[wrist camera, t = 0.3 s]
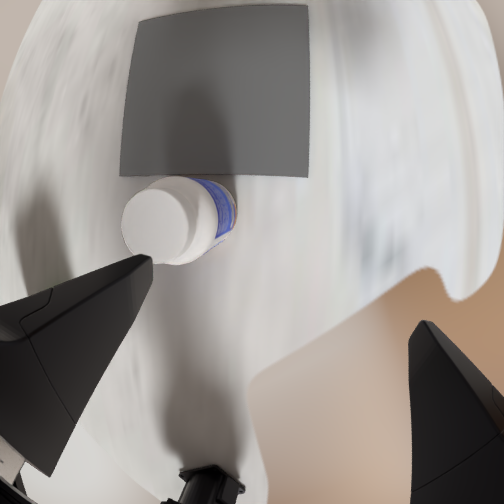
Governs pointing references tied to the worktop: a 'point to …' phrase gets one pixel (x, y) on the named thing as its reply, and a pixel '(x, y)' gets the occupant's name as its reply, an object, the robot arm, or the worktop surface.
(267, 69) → the rubber mat
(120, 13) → the worktop surface
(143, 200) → the pill bottle
